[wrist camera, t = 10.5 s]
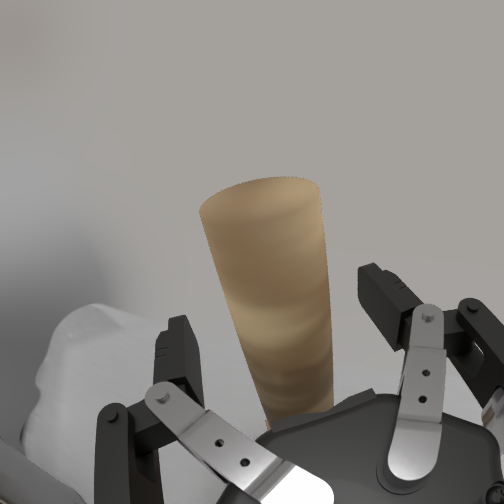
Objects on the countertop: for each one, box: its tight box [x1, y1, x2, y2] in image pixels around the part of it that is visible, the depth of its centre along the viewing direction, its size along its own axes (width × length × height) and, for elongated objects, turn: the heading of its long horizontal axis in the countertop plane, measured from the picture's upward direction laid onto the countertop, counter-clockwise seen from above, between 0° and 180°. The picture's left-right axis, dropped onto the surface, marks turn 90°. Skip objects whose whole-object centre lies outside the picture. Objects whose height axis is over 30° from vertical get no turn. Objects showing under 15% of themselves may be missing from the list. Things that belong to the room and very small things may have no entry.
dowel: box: [199, 177, 334, 429], centre depth 14 cm, size 4×4×18 cm
